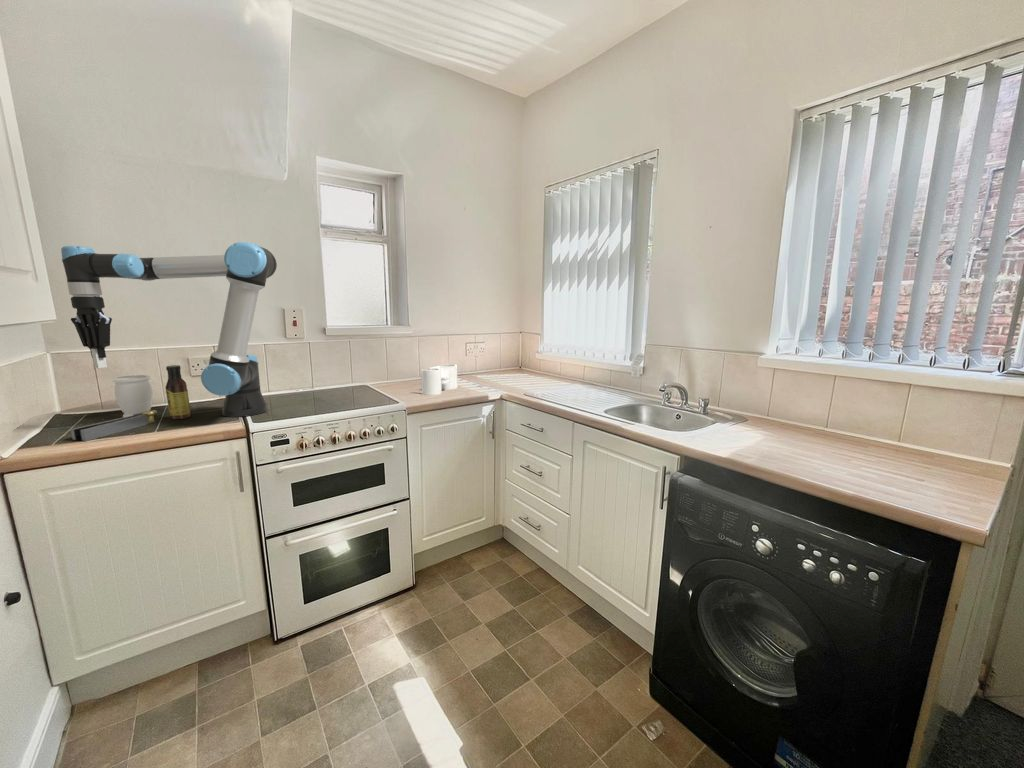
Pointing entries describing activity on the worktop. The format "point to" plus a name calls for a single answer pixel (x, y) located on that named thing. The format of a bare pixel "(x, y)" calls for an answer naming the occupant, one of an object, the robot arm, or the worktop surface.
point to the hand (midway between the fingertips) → (101, 367)
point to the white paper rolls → (439, 379)
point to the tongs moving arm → (76, 431)
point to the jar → (133, 394)
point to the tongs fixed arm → (115, 427)
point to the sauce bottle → (177, 394)
